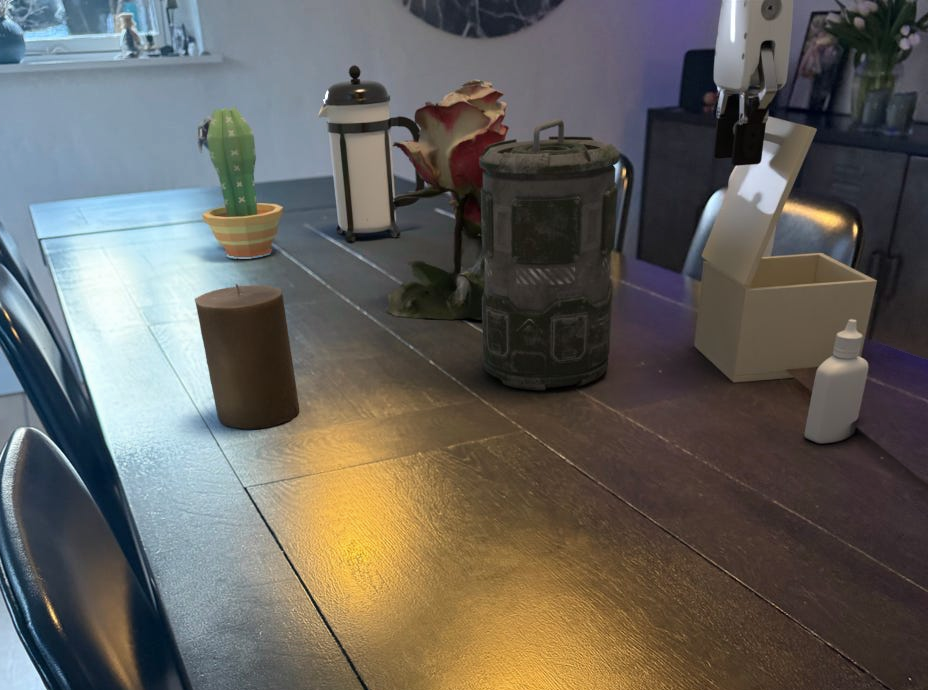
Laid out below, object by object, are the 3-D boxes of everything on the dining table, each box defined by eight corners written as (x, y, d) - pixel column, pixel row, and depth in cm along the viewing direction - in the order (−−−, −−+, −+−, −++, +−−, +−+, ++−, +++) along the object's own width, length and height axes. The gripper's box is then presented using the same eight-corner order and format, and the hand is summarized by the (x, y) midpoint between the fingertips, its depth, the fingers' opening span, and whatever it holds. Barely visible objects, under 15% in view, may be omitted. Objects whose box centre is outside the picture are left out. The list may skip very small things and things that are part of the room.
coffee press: (380, 246, 183) (366, 68, 166) (317, 239, 190) (298, 68, 173) (429, 229, 194) (420, 61, 177) (368, 223, 202) (354, 61, 185)
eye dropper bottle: (795, 429, 99) (816, 315, 93) (848, 427, 99) (873, 313, 92) (808, 445, 96) (830, 328, 89) (863, 443, 96) (890, 325, 89)
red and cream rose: (560, 327, 133) (566, 85, 116) (374, 317, 142) (353, 90, 125) (596, 282, 153) (605, 69, 136) (430, 276, 162) (419, 75, 145)
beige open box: (806, 337, 125) (821, 252, 119) (857, 372, 113) (877, 280, 107) (694, 346, 124) (703, 261, 118) (733, 382, 112) (745, 290, 106)
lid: (763, 115, 109) (725, 102, 108) (817, 129, 97) (775, 115, 96) (706, 258, 118) (671, 248, 116) (749, 287, 106) (710, 276, 104)
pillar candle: (301, 425, 107) (282, 290, 98) (215, 433, 106) (188, 298, 97) (298, 396, 115) (280, 269, 106) (218, 404, 113) (194, 276, 105)
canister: (512, 346, 127) (511, 113, 111) (624, 358, 121) (640, 113, 105) (463, 384, 115) (453, 130, 99) (584, 399, 109) (595, 131, 93)
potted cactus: (261, 242, 191) (240, 102, 176) (304, 252, 181) (286, 105, 167) (194, 256, 182) (167, 111, 168) (236, 267, 173) (211, 114, 159)
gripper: (831, -44, 88) (799, 169, 98) (762, -37, 102) (741, 149, 112) (754, -40, 87) (730, 174, 97) (695, -33, 101) (680, 153, 111)
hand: (736, 158), depth 105 cm, fingers closed on lid, 5 cm apart
